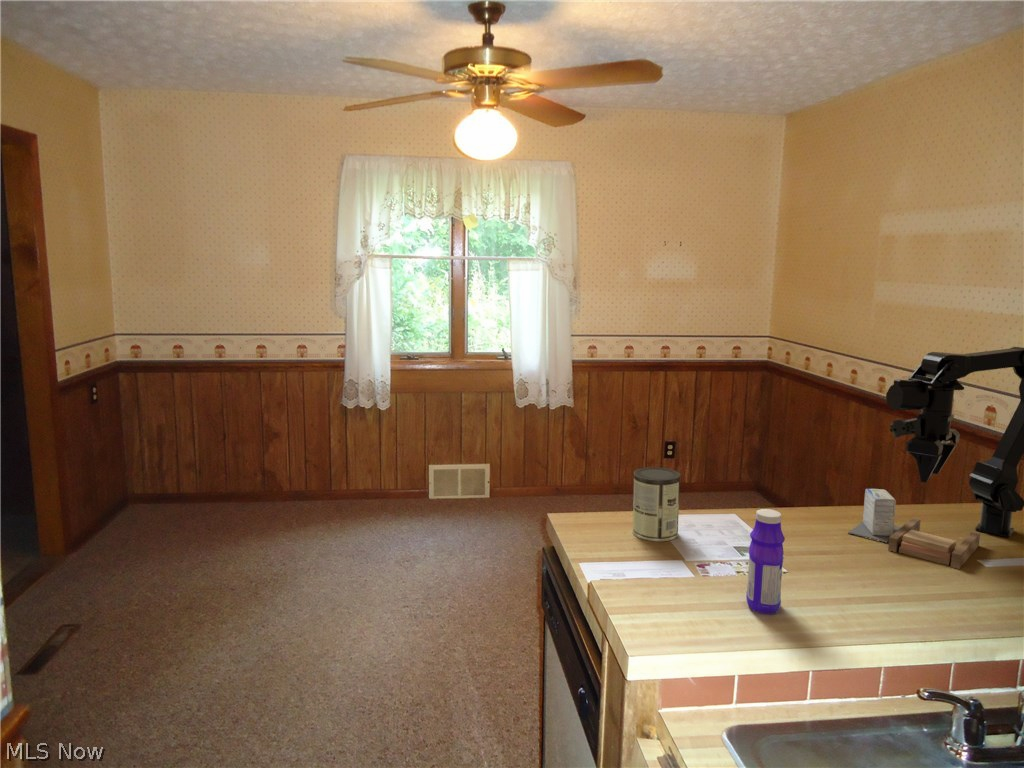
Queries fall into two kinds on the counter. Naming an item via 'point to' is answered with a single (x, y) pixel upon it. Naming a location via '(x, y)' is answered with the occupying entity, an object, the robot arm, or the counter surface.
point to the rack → (957, 555)
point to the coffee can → (656, 504)
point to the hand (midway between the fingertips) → (929, 477)
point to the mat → (864, 532)
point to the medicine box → (879, 512)
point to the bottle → (765, 563)
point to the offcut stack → (927, 547)
